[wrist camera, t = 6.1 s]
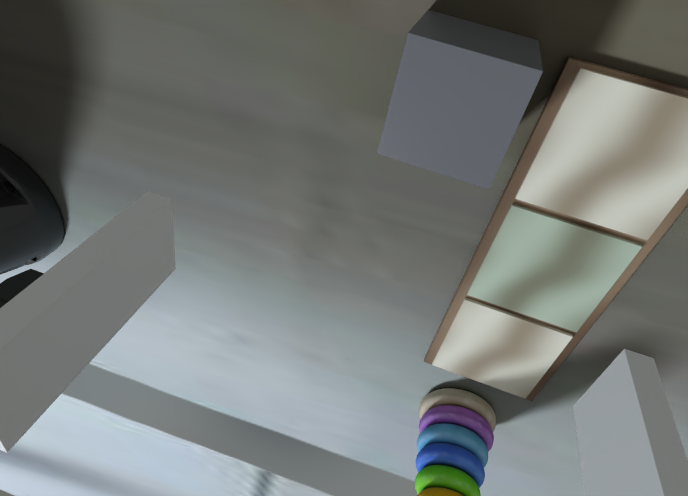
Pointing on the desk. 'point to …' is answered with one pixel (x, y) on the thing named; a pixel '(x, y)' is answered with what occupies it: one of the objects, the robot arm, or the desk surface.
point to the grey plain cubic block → (459, 97)
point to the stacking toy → (453, 443)
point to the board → (568, 226)
